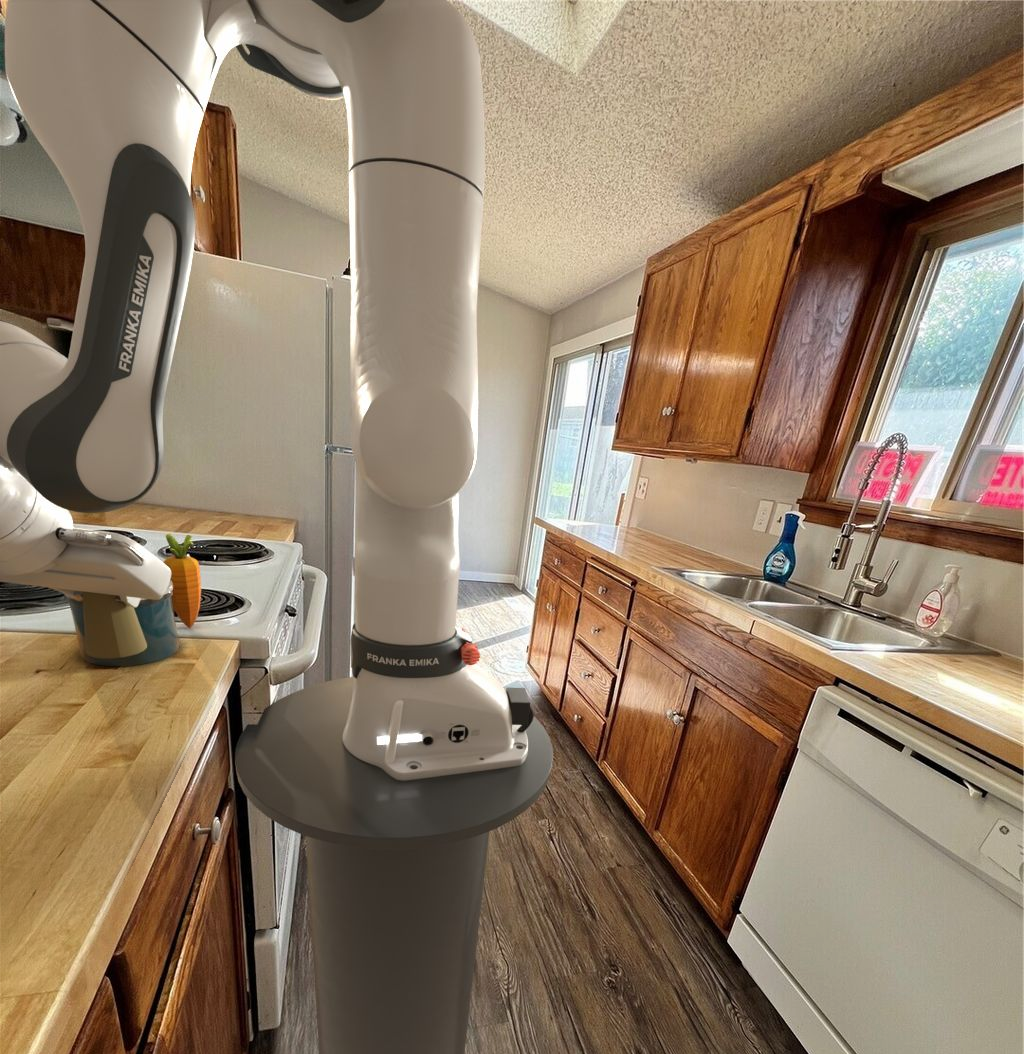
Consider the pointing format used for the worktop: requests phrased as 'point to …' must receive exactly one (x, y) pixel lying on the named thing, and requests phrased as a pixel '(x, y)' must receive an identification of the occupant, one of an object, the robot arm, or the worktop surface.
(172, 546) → the carrot
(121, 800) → the worktop surface
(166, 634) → the pot
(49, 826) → the worktop surface
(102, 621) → the tan pepper shaker
